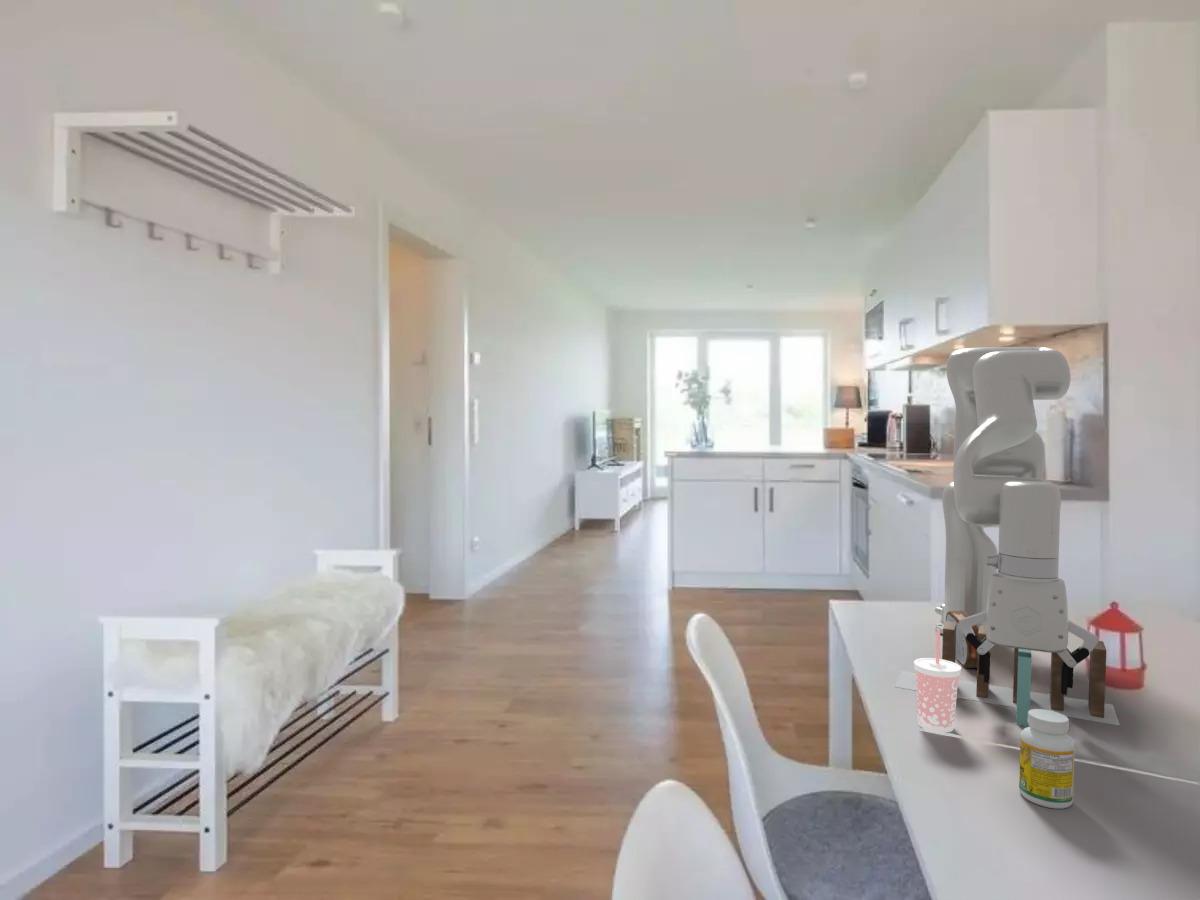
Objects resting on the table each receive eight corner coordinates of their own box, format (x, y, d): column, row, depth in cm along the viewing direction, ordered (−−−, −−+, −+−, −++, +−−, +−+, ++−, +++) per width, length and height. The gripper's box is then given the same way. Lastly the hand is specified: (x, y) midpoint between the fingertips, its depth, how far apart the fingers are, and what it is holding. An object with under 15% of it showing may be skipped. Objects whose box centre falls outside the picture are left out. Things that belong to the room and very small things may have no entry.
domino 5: (1050, 709, 112) (1053, 642, 111) (1049, 698, 116) (1051, 634, 116) (1063, 711, 111) (1065, 644, 111) (1061, 700, 115) (1064, 636, 115)
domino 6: (1090, 715, 109) (1093, 648, 109) (1088, 704, 114) (1090, 639, 113) (1104, 718, 109) (1106, 649, 108) (1100, 706, 113) (1103, 641, 113)
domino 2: (976, 696, 117) (978, 633, 116) (977, 686, 121) (979, 625, 121) (987, 698, 116) (989, 634, 116) (988, 688, 120) (990, 627, 120)
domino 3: (1012, 702, 114) (1014, 637, 114) (1013, 692, 119) (1015, 630, 118) (1024, 704, 113) (1026, 639, 113) (1024, 694, 118) (1026, 631, 117)
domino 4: (1016, 726, 106) (1018, 656, 106) (1016, 714, 111) (1018, 647, 110) (1029, 728, 105) (1031, 658, 105) (1028, 716, 110) (1031, 649, 109)
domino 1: (941, 690, 119) (942, 628, 119) (944, 681, 124) (945, 621, 123) (952, 692, 118) (954, 629, 118) (954, 683, 123) (956, 622, 122)
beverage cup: (939, 740, 101) (942, 637, 101) (902, 723, 107) (905, 626, 106) (969, 731, 104) (972, 632, 103) (931, 716, 109) (934, 621, 109)
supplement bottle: (1068, 815, 82) (1071, 728, 82) (1013, 799, 85) (1016, 716, 85) (1076, 796, 86) (1079, 714, 86) (1023, 782, 89) (1026, 702, 89)
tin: (984, 675, 128) (985, 626, 127) (964, 674, 128) (965, 625, 128) (960, 649, 143) (961, 605, 142) (942, 648, 143) (943, 604, 143)
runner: (894, 688, 121) (894, 686, 121) (902, 672, 129) (902, 670, 129) (1119, 727, 106) (1119, 725, 106) (1112, 706, 114) (1112, 704, 114)
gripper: (959, 565, 108) (955, 682, 108) (1102, 578, 100) (1098, 705, 100) (962, 558, 115) (959, 669, 115) (1097, 569, 106) (1093, 689, 106)
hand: (1024, 686), depth 107 cm, fingers open, 9 cm apart
